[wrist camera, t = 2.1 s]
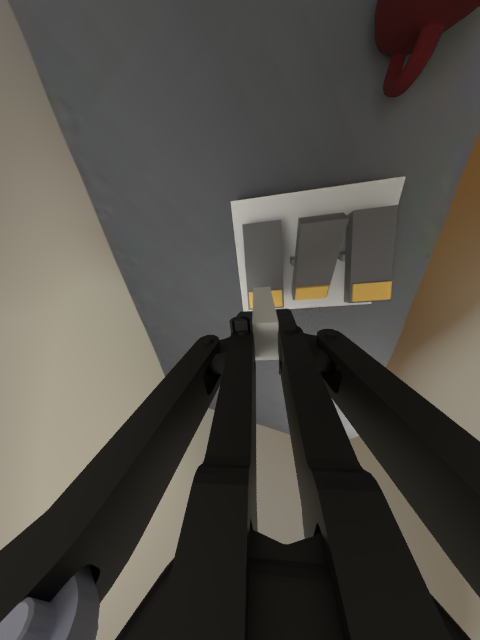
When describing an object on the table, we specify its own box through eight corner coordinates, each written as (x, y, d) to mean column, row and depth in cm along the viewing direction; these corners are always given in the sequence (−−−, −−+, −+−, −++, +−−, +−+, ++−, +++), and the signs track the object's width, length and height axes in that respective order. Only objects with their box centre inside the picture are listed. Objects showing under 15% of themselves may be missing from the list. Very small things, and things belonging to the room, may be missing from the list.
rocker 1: (243, 228, 22) (242, 223, 21) (279, 223, 22) (281, 218, 20) (249, 307, 25) (248, 310, 23) (282, 305, 24) (284, 307, 22)
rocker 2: (298, 217, 19) (301, 225, 18) (343, 212, 18) (350, 219, 17) (291, 292, 26) (293, 301, 25) (323, 290, 26) (326, 299, 24)
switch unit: (234, 203, 26) (228, 200, 20) (378, 183, 24) (419, 172, 18) (245, 300, 34) (243, 319, 28) (355, 292, 31) (378, 311, 25)
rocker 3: (346, 215, 21) (354, 209, 19) (388, 210, 20) (400, 203, 19) (343, 301, 23) (350, 303, 21) (381, 299, 22) (392, 300, 21)
